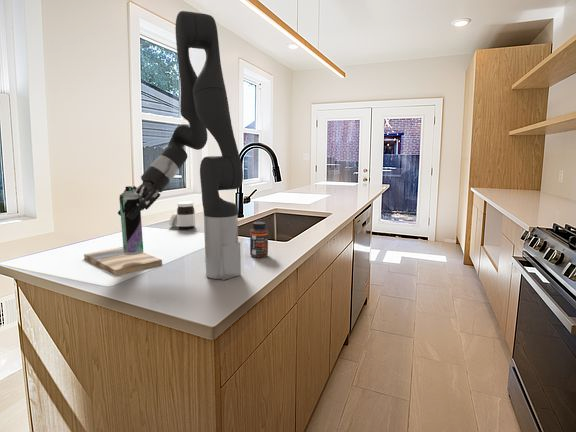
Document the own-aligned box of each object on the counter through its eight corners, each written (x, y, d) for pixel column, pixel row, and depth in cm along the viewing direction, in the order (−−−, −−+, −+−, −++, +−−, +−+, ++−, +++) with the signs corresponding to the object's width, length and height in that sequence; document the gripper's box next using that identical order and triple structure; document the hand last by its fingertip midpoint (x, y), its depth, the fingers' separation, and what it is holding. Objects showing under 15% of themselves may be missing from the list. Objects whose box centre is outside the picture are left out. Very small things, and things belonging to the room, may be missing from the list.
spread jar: (195, 230, 163) (194, 204, 161) (168, 231, 161) (166, 204, 159) (195, 224, 175) (194, 200, 173) (170, 225, 172) (169, 201, 170)
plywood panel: (162, 264, 114) (161, 259, 114) (116, 275, 104) (115, 269, 104) (127, 250, 130) (126, 245, 130) (84, 258, 120) (84, 253, 120)
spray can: (136, 255, 108) (131, 187, 105) (119, 254, 109) (114, 186, 106) (147, 250, 114) (142, 185, 110) (131, 249, 115) (126, 185, 111)
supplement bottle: (255, 259, 120) (255, 225, 118) (247, 255, 125) (246, 222, 123) (271, 256, 123) (271, 223, 121) (262, 252, 128) (262, 220, 126)
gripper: (140, 164, 117) (104, 206, 111) (163, 166, 108) (126, 211, 101) (157, 180, 122) (123, 221, 115) (180, 183, 112) (146, 227, 106)
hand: (125, 216), depth 108 cm, fingers closed on spray can, 5 cm apart
